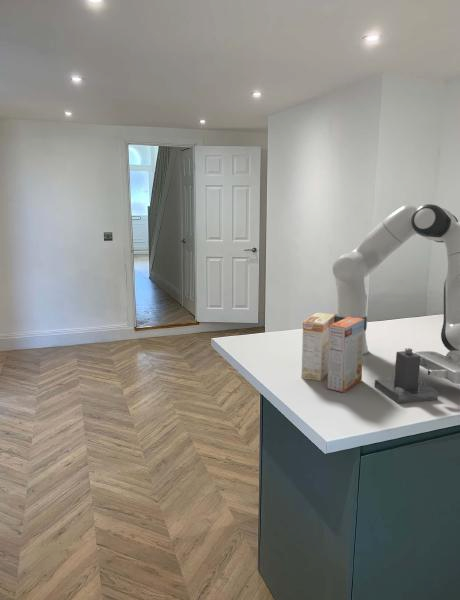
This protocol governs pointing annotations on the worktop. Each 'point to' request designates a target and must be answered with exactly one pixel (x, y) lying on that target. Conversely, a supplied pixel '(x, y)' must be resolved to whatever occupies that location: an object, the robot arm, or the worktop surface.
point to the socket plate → (406, 391)
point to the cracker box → (345, 353)
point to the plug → (407, 369)
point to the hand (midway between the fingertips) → (419, 368)
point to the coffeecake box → (316, 346)
